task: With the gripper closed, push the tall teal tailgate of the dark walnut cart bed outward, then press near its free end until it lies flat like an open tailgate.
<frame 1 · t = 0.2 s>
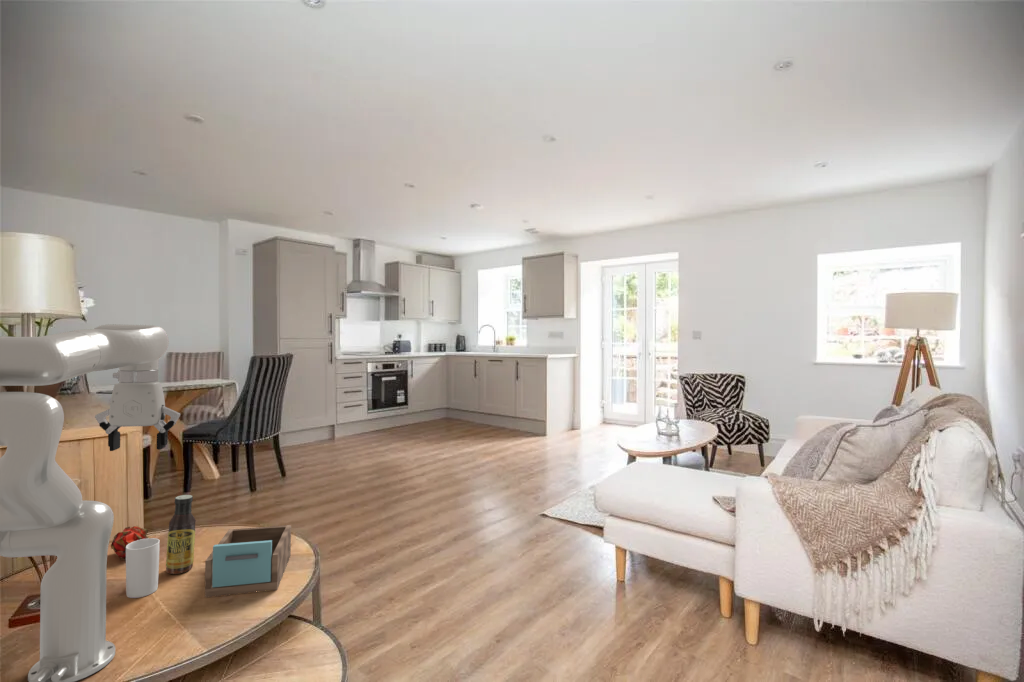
hand: (138, 449, 119), 36 cm above the table, tool pointing down, fingers open, 9 cm apart
white oval vase: (144, 589, 125), on the table
sauce bottle: (180, 570, 135), on the table
tailgate: (242, 564, 123), point 7 cm above the table, hinge at 0.0°
dragon fruit: (130, 556, 143), on the table
cart bed: (251, 574, 133), on the table
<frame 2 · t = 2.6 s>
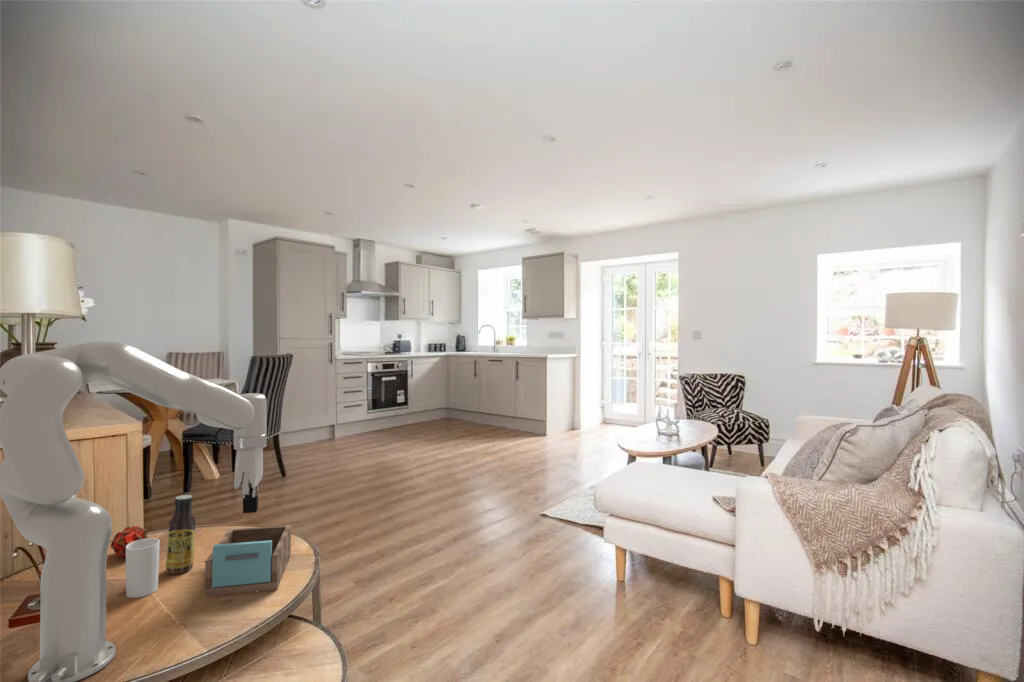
hand: (250, 511, 129), 18 cm above the table, tool pointing down, fingers closed
nothing on the table moved.
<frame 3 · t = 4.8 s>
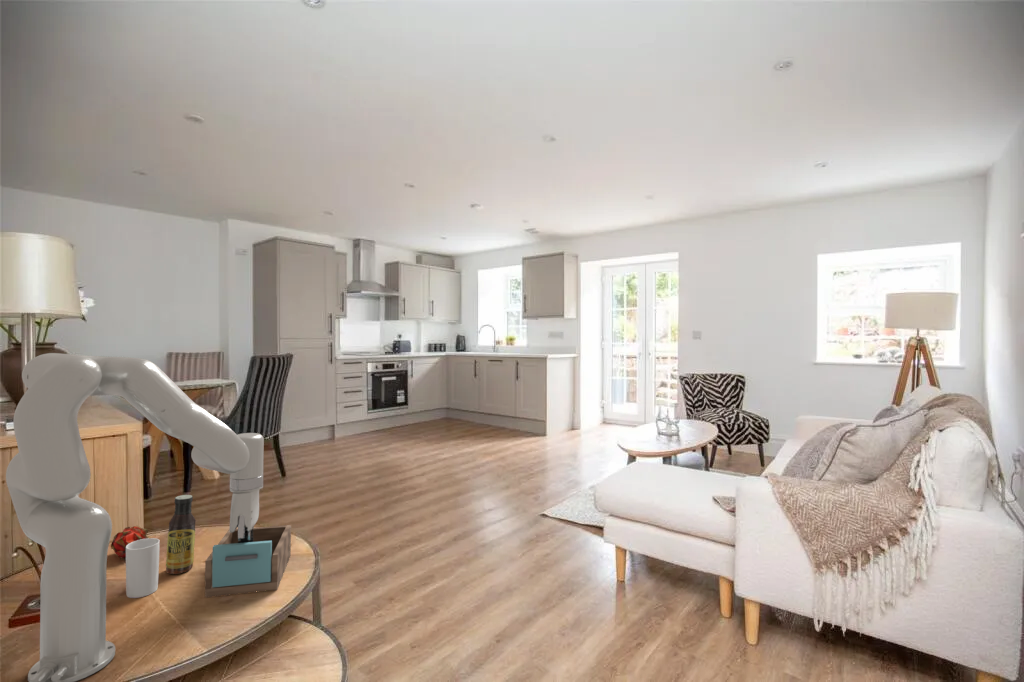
hand: (245, 554, 127), 8 cm above the table, tool pointing down, fingers closed
tailgate: (242, 564, 123), point 7 cm above the table, hinge at 1.4°, touching gripper
everything else where it was.
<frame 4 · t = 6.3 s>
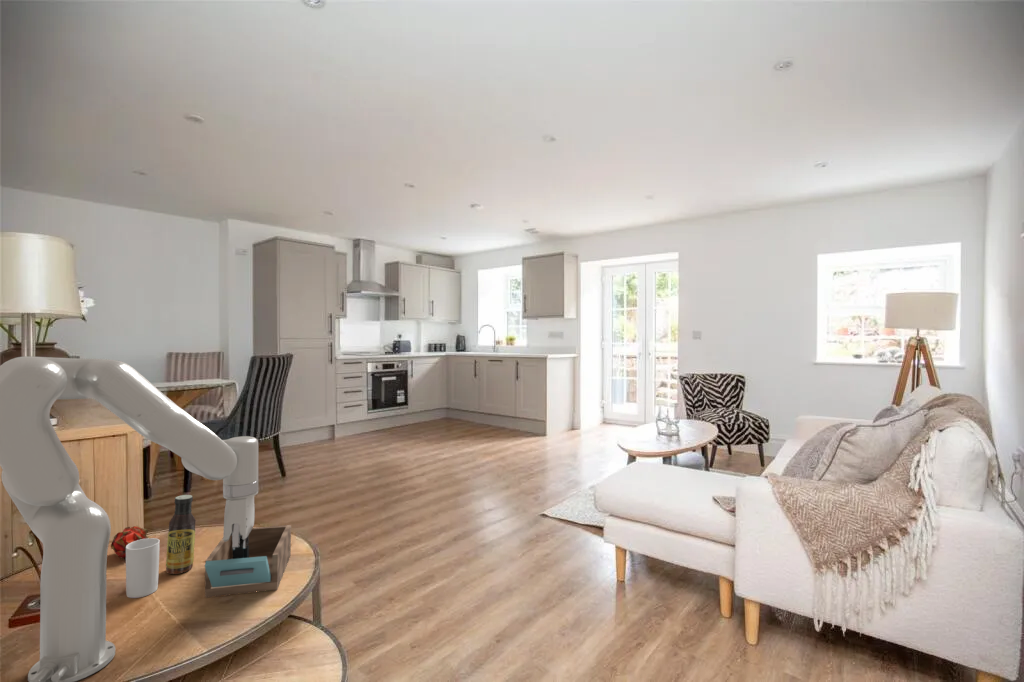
hand: (240, 563, 121), 9 cm above the table, tool pointing down, fingers closed
tailgate: (238, 573, 120), point 6 cm above the table, hinge at 37.2°, touching gripper
everything else where it was.
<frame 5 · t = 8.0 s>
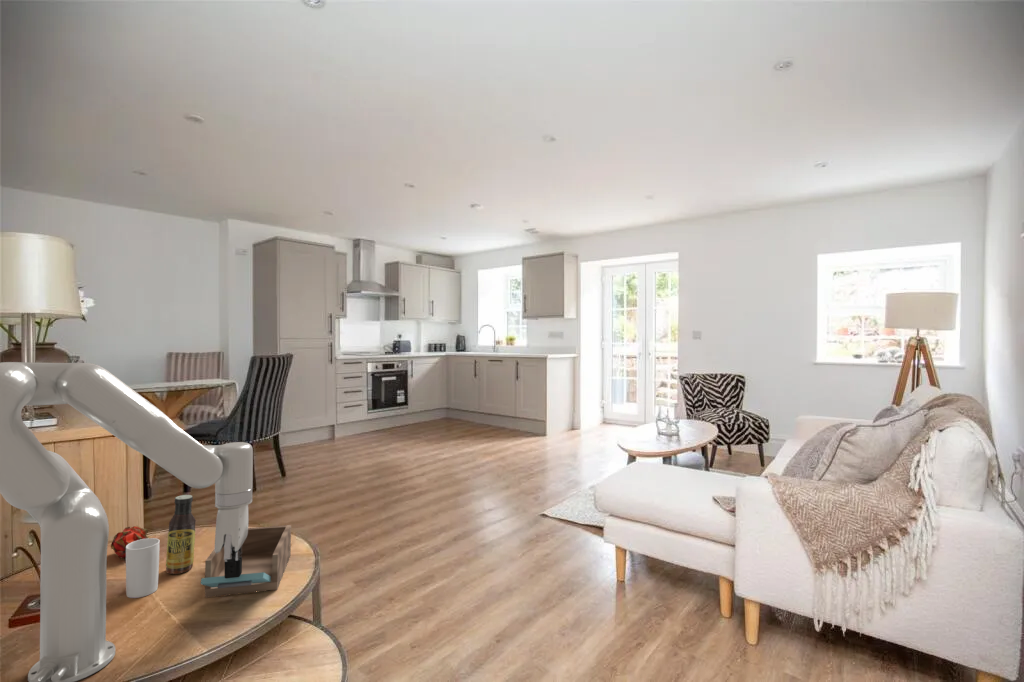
hand: (233, 575, 115), 8 cm above the table, tool pointing down, fingers closed
tailgate: (237, 582, 119), point 5 cm above the table, hinge at 59.5°, touching gripper
everything else where it was.
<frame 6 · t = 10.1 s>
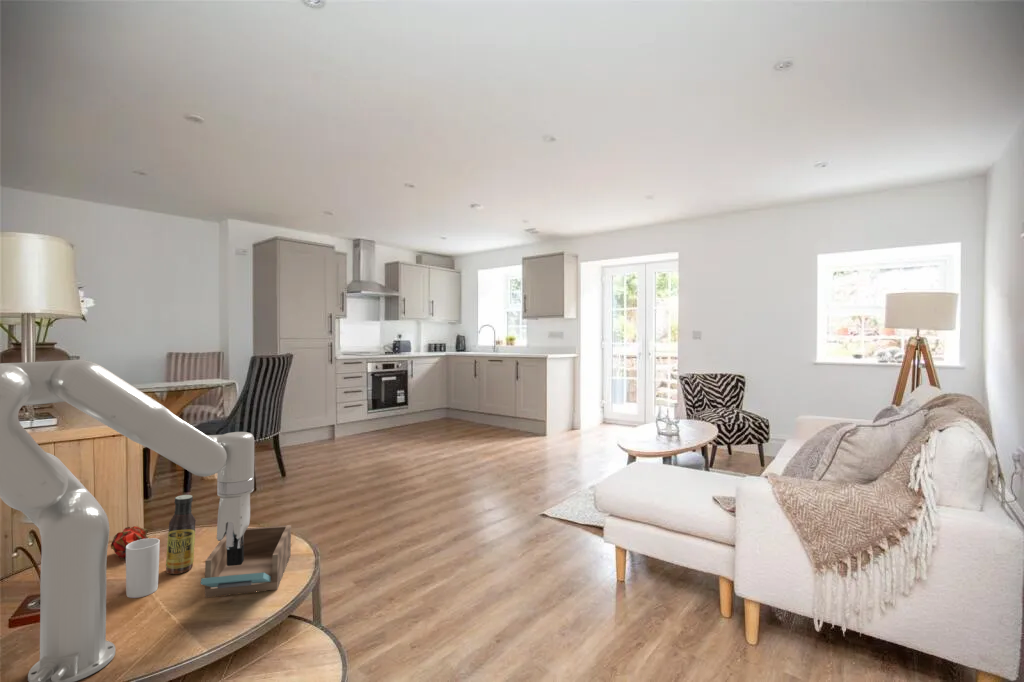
hand: (235, 563, 117), 11 cm above the table, tool pointing down, fingers closed
tailgate: (237, 582, 119), point 5 cm above the table, hinge at 59.6°
everything else where it was.
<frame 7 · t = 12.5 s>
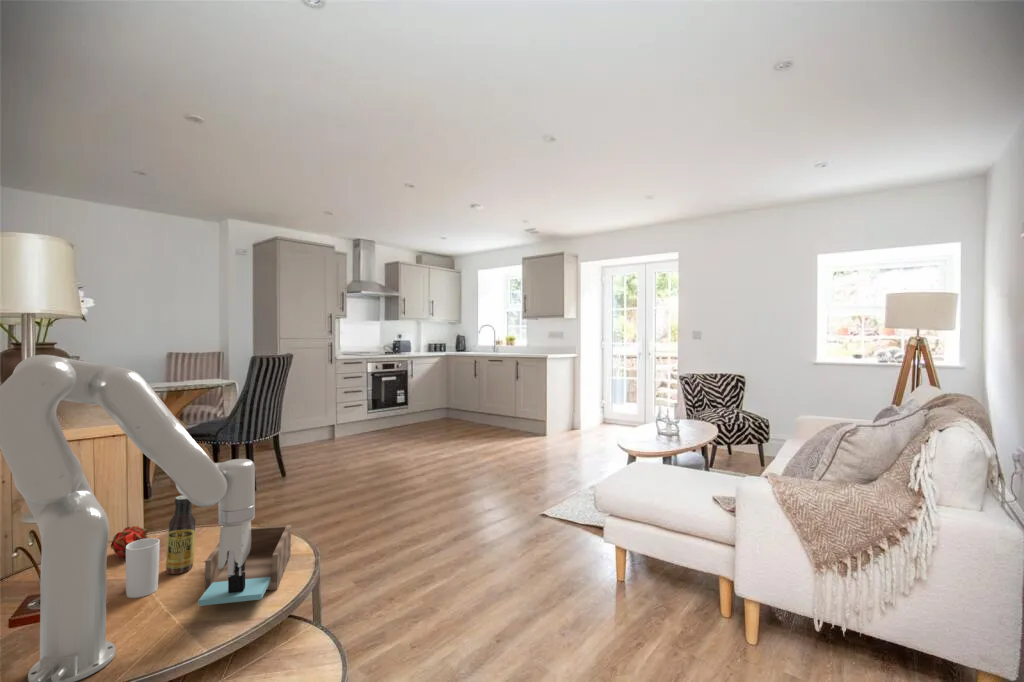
hand: (236, 590, 117), 4 cm above the table, tool pointing down, fingers closed
tailgate: (236, 592, 118), point 3 cm above the table, hinge at 85.6°, touching gripper
everything else where it was.
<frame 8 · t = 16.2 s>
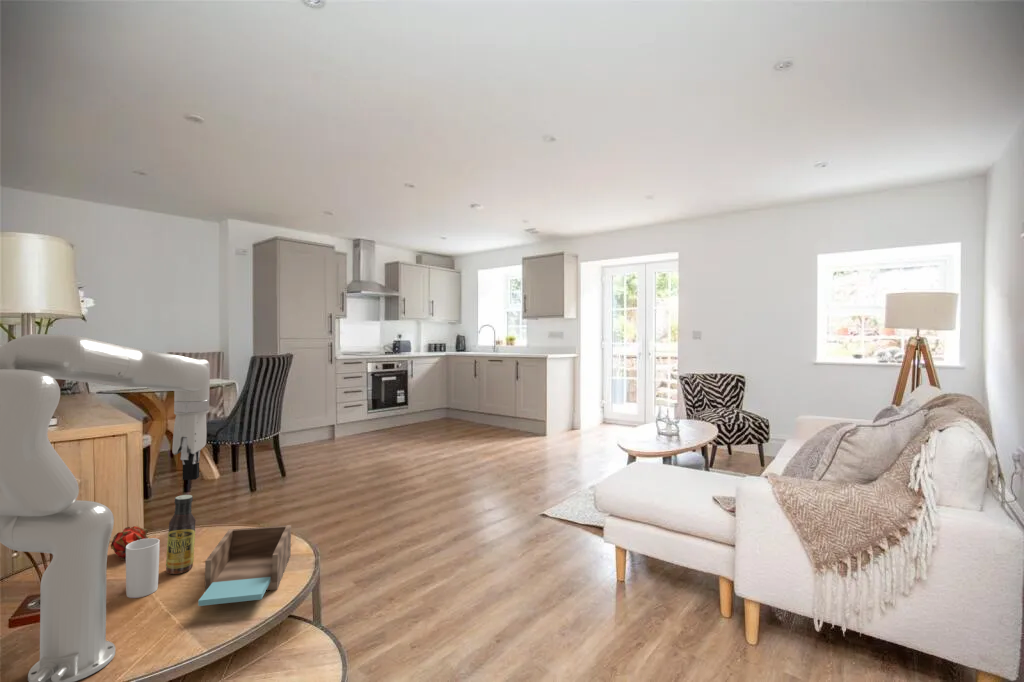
hand: (190, 478, 127), 27 cm above the table, tool pointing down, fingers closed
tailgate: (236, 592, 118), point 3 cm above the table, hinge at 85.8°
everything else where it was.
at the end: tailgate at +86° (first picture: +0°); sauce bottle tilted 0° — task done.
